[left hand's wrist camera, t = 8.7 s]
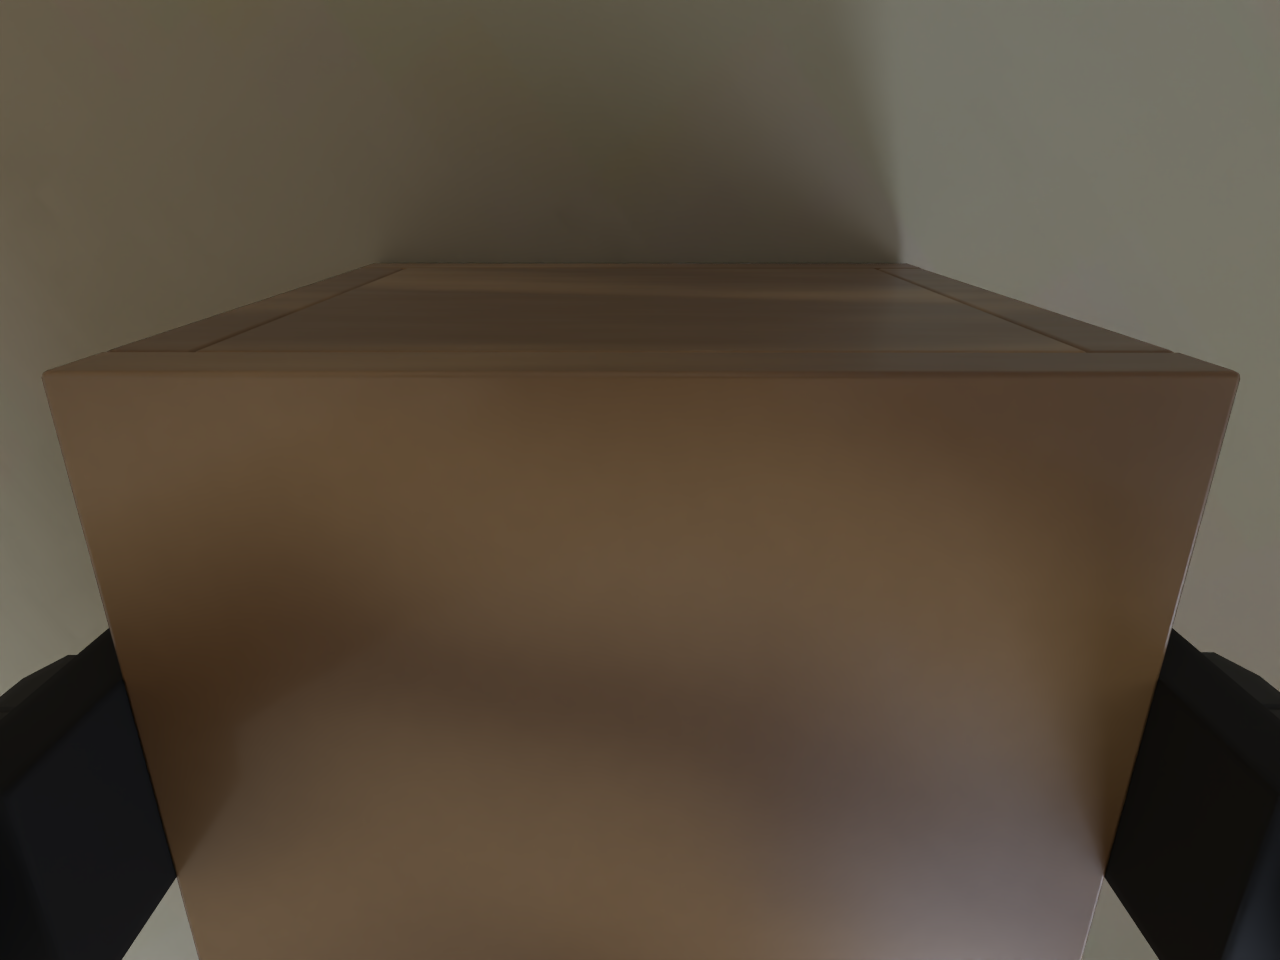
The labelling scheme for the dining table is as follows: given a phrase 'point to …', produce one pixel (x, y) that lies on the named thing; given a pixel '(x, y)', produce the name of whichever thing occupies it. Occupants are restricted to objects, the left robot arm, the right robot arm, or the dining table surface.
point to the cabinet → (640, 607)
